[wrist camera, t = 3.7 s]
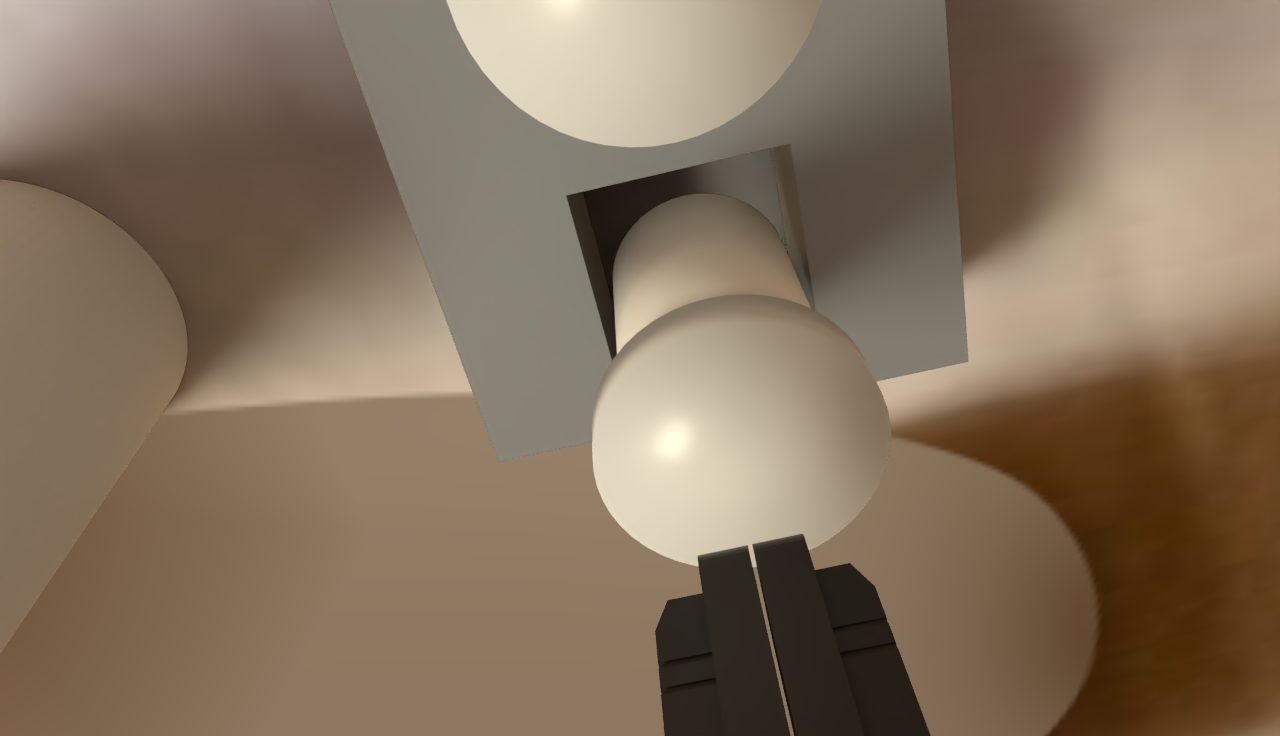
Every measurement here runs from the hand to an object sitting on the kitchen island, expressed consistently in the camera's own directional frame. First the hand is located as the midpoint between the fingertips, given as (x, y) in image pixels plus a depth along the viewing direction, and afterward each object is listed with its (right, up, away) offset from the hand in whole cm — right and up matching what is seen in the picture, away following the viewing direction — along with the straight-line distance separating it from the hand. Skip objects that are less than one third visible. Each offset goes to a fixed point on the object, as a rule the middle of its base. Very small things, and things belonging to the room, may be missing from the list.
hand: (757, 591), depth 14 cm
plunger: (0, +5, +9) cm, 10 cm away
